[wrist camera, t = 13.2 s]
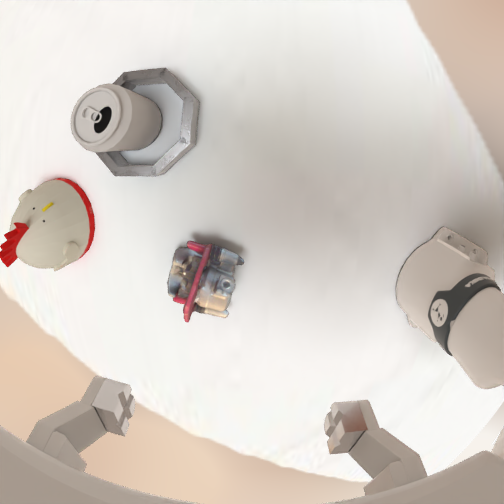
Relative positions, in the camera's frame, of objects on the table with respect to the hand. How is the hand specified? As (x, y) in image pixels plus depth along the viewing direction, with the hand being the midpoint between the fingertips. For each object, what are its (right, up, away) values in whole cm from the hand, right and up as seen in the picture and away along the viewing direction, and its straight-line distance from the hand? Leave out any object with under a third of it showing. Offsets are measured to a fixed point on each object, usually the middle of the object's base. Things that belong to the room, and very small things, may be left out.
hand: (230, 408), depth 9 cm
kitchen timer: (-30, +11, +27) cm, 42 cm away
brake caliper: (-6, +3, +30) cm, 31 cm away
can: (-15, +23, +23) cm, 36 cm away
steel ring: (-13, +23, +22) cm, 35 cm away
